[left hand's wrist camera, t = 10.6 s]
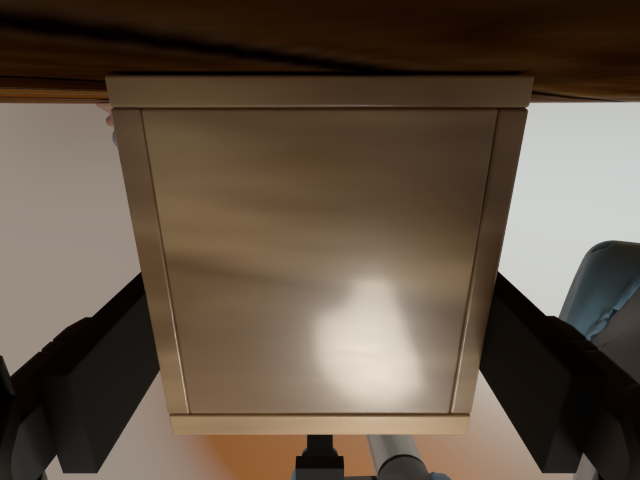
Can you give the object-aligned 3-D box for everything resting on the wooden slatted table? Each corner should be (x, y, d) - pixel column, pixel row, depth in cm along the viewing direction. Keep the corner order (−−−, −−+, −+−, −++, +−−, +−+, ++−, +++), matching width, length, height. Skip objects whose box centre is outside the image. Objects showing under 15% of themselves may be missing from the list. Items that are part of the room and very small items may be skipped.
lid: (386, 242, 27) (380, 337, 30) (253, 242, 27) (259, 337, 30) (471, 415, 12) (441, 573, 15) (167, 415, 12) (197, 573, 15)
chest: (399, 94, 22) (388, 246, 26) (240, 94, 22) (251, 245, 26) (536, 74, 8) (471, 414, 12) (102, 74, 8) (167, 414, 12)
